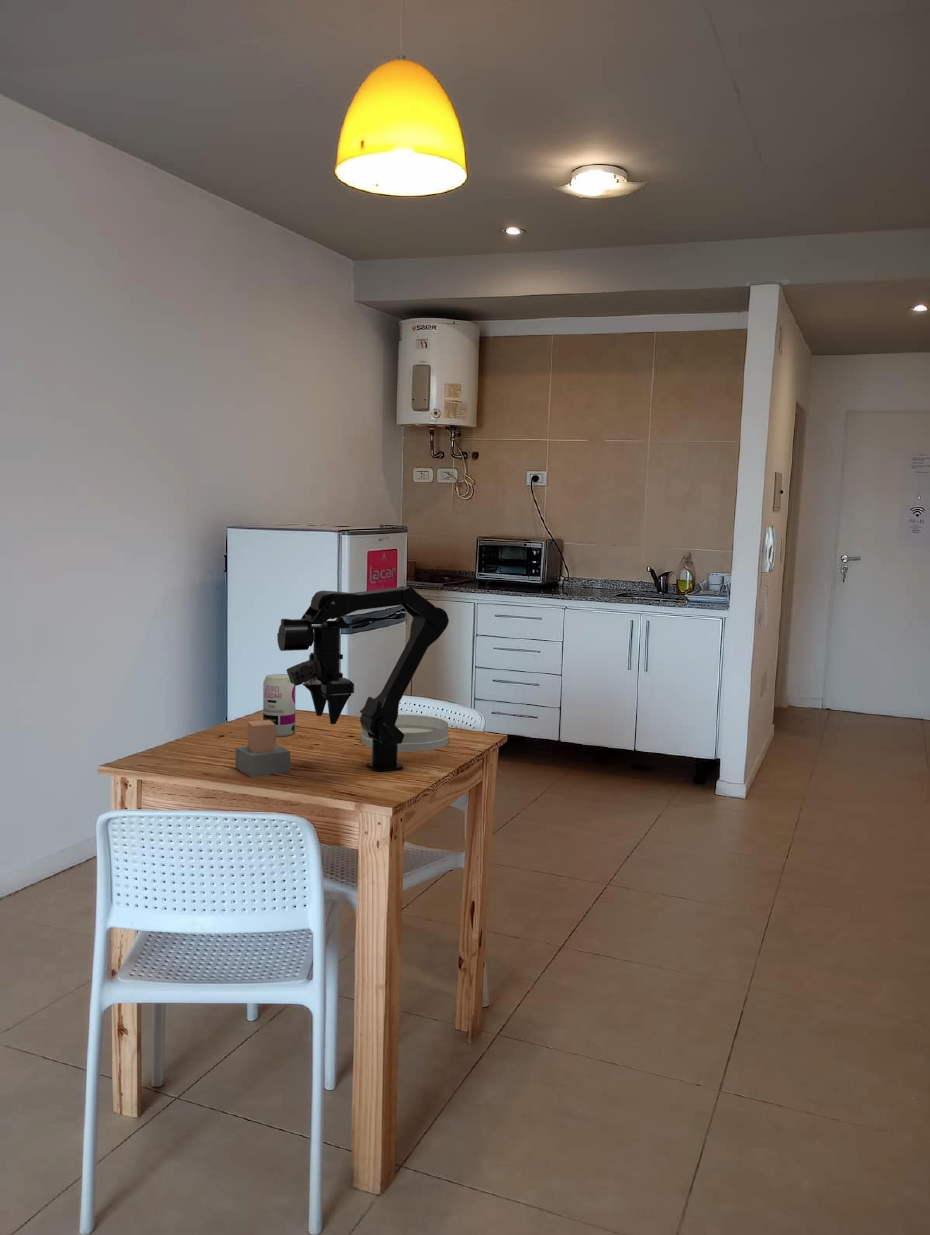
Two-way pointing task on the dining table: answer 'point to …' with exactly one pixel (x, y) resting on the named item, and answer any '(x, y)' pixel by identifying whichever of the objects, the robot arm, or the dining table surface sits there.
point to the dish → (417, 733)
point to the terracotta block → (261, 736)
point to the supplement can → (279, 703)
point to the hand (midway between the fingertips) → (326, 719)
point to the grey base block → (263, 761)
